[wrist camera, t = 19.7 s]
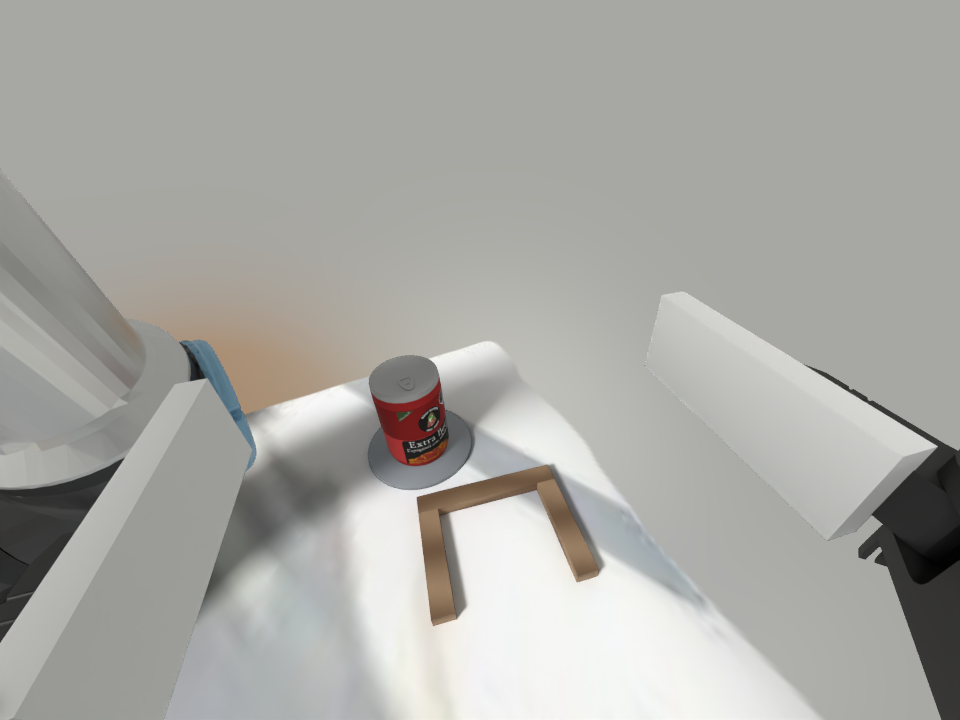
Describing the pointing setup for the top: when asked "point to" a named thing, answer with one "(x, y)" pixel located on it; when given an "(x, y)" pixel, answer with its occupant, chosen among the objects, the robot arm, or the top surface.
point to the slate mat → (423, 475)
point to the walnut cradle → (485, 493)
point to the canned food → (410, 409)
